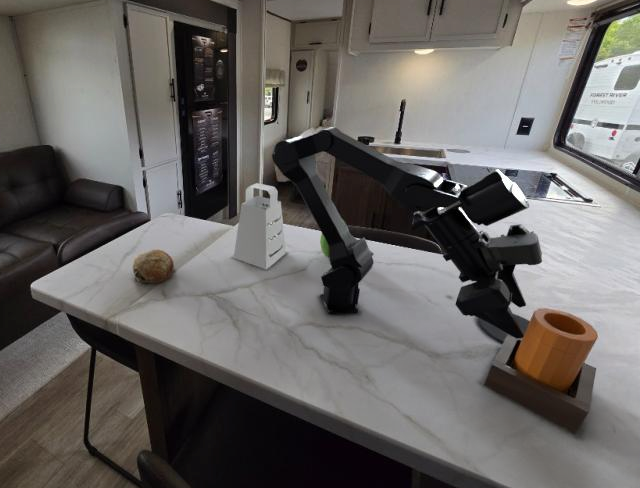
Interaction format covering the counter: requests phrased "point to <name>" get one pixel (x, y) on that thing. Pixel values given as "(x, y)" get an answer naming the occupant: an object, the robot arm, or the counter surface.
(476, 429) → the counter surface
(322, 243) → the avocado
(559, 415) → the open rectangular box
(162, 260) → the bread roll
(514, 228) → the robot arm
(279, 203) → the grater
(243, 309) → the counter surface
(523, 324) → the coaster
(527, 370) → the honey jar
